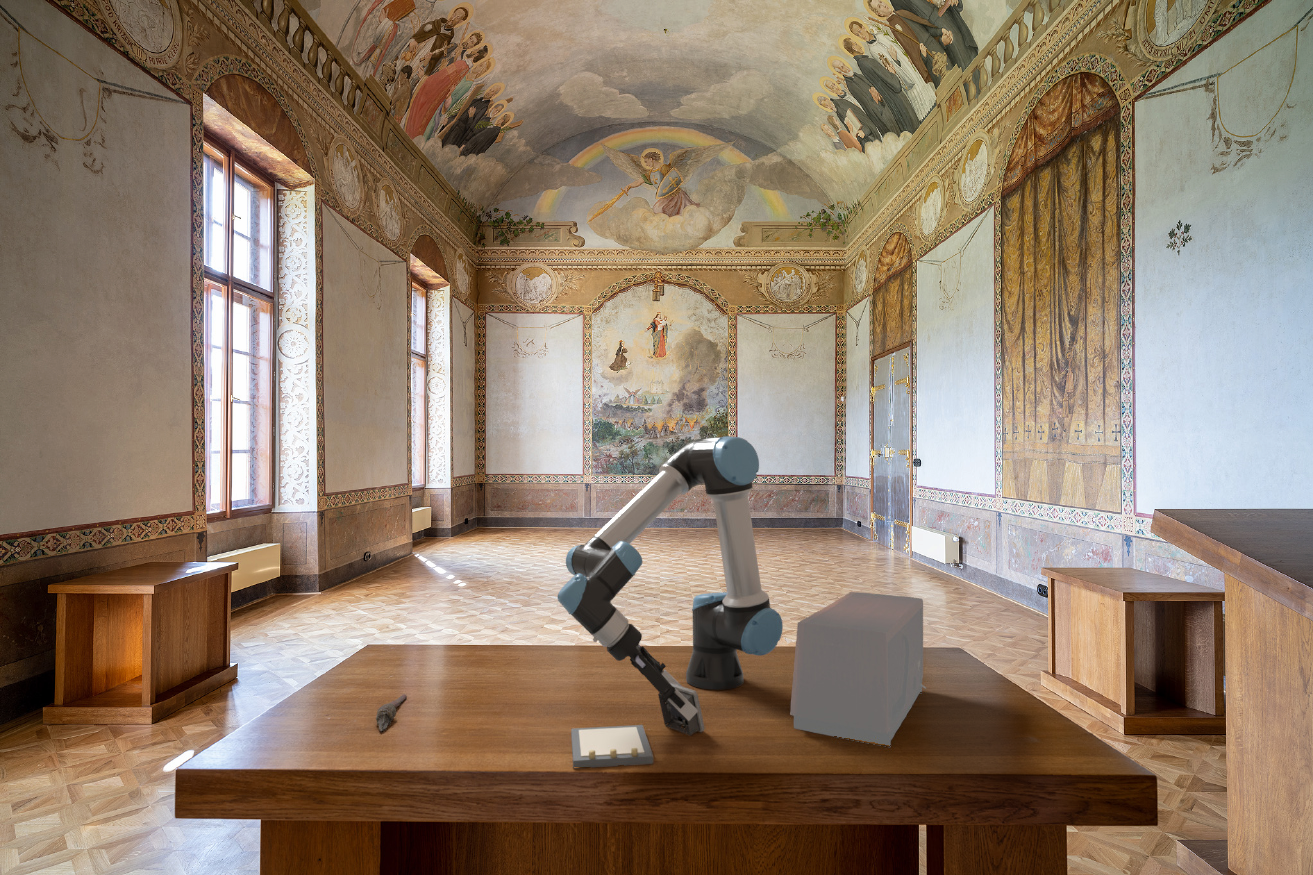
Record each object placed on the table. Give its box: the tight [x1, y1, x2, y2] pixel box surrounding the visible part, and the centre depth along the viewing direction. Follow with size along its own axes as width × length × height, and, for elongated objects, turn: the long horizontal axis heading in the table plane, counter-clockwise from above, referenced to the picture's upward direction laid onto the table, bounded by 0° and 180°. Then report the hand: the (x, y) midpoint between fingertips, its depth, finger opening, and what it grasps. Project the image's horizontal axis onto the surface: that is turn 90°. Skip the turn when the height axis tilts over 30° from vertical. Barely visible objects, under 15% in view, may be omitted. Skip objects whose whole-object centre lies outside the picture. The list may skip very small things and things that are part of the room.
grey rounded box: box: [789, 591, 927, 747], centre depth 156 cm, size 45×22×24 cm, turn 148°
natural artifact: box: [375, 693, 408, 732], centre depth 151 cm, size 4×23×4 cm, turn 2°
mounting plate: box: [570, 724, 654, 769], centre depth 133 cm, size 15×16×3 cm
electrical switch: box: [657, 683, 706, 736], centre depth 143 cm, size 9×5×9 cm, turn 44°
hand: (686, 704), depth 143 cm, fingers open, 13 cm apart
